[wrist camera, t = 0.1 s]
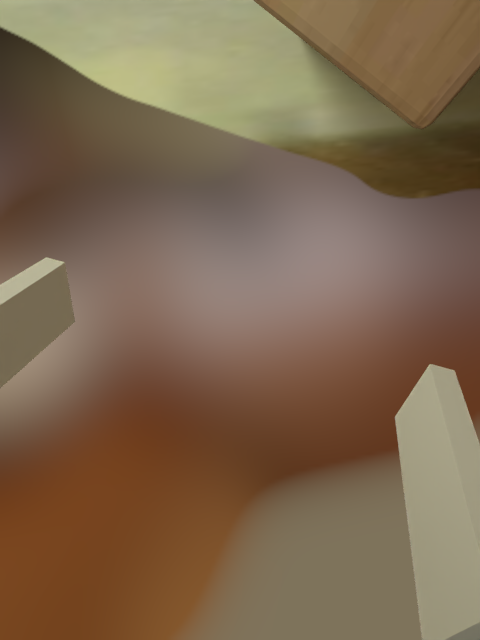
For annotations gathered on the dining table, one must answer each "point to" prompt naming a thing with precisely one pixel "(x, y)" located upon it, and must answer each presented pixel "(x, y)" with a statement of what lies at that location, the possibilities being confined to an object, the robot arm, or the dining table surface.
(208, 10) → the dining table surface
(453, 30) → the wooden block
